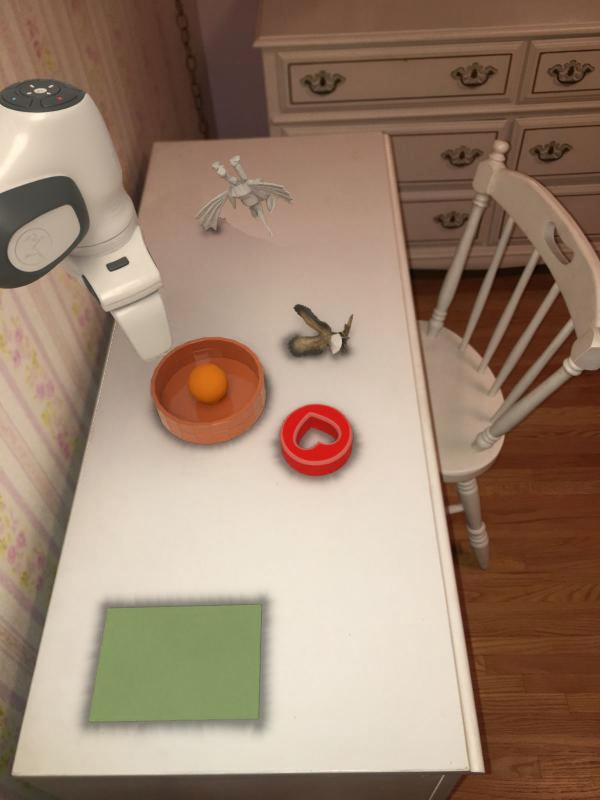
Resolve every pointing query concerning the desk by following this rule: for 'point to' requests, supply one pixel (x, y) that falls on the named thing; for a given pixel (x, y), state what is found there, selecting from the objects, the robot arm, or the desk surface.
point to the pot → (200, 418)
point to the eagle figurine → (323, 340)
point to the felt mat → (179, 664)
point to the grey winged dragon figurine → (242, 195)
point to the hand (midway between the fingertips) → (134, 330)
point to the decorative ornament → (321, 455)
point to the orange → (208, 383)
